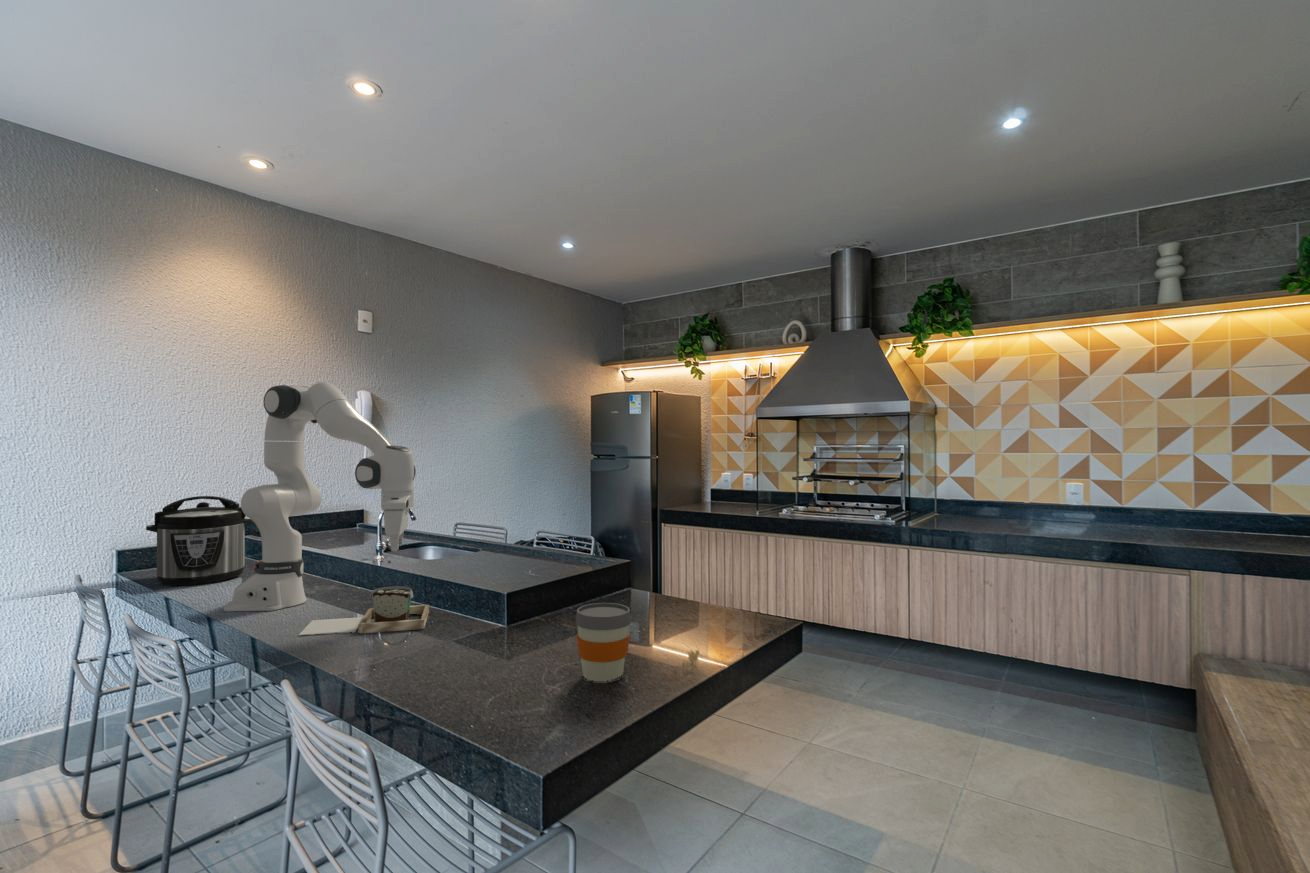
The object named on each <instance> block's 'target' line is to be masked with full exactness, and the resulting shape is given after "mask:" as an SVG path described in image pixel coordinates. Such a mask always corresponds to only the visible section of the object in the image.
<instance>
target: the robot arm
mask: <svg viewBox="0 0 1310 873" xmlns="http://www.w3.org/2000/svg"><path fill="white" fill-rule="evenodd" d="M263 407H264V410H265V412H266V413H267V414H268V415H267V420H266V423H265V424H266V425H265V427H264V429H265V431H264V441H263V444H264V446H263V464H264V466H265V467H266V469H267V470H269V471H271V472H273V473H274V475H275V476H276V479H277V483H276V484H275V483H273V484H263V485H259V486H255V487H251V488H248V489H246V490H245V492H244V493H243V494H242V496H241V500H240V507H241V509H242V511H243V513H244V514H245V515H246V517H247V518H248V519H251V520H253V521H254V523H255V525H256V527H257V528H258V531H259V533H260V537H261V538H260V539H261V558H262V559H260V560H259V561H258V562H257V563H256V564H254V565H253V570H254V572H255V573H254V574H252V575H251V576H249V577H248V578H247V579H245V580H244V581H243V582H241V583H240V584H239V585H237V586H236V588H235V589H234V592H233V593H232V594H233V595H232V599H231V601H229V602H227V603H225V604H224V605H223V609H222V611H224V612H257V611H258V612H264V611H266V612H267V611H268V612H270V611H271V612H272V611H276V610H281V609H285V608H290V607H295V606H299V605H302V604H304V603H305V602H307V597H306V593H305V590H304V589H305V588H304V583H303V575H304V565H305V564H304V558H303V556H302V553H303V552H302V551H303V536H302V534H301V532H299V531H298V530H296V529H295V528H293V527H292V526H291V524H290V521H289V517H296V516H303V515H306V514H309V513H312V512H314V511H316V510H317V509H319V507H320V506H321V504H322V501H323V500H322V499H323V496H322V492H321V490H320V489H319V487H318V486H317V485H315V484H314V483H313V481H312V480H311V479H310V478H309V476H308V473H307V470H306V467H305V450H304V449H305V447H304V446H305V445H304V444H305V442H304V440H305V438H304V434H305V432H304V430H305V425H306V424H307V423H309V422H311V423H312V424H317V423H318V425H319V427H320V428H321V429H322V430H323V431H324V432H325V433H326V434H327V435H328V436H330V437H332V438H335V439H338V440H343V441H348V442H352V443H356V444H359V445H362V446H364V447H366V448H367V449H369V451H371V452H372V454H373V455H371V456H368V457H364V458H362V459H360V460H359V462H358V463H357V465H356V467H355V469H354V470H355V471H354V477H355V480H356V483H357V484H358V485H359V486H360V487H361V488H363V489H368V490H376V489H379V490H380V489H381V490H380V491H381V492H380V500H381V501H380V508H381V510H382V511H383V521H384V533H385V536H386V537H387V538H389V540H390V551H391V552H397V551H399V547H401V546H403V540H404V533H405V532H404V531H405V530H406V529H407V528H408V525H409V523H408V521H409V520H408V513H409V512H410V508H412V507H414V504H415V500H414V499H415V498H414V497H415V496H414V495H415V492H414V484H413V481H414V479H415V478H416V473H417V472H416V471H417V470H416V466H415V463H414V455H413V452H412V450H411V449H409V447H405V446H402V445H394V444H393V443H392V442H391V441H390V439H388V438H387V436H386V435H385V434H384V433H383V432H382V431H381V430H380V429H379V428H378V427H377V426H376V425H375V424H373V423H372V422H371V421H369V420H368V419H367V418H366V417H364V416H363V415H362V414H361V413H360V412H359V411H358V410H357V408H355V407H354V405H352V403H351V401H350V400H349V398H347V396H346V395H345V394H344V393H343V392H342V391H341V390H340V389H339V388H338V387H336V385H334V384H333V383H331V382H329V381H328V382H327V381H321V382H317V383H314V384H312V385H311V386H307V385H286V384H281V385H273V386H271V387H269V388H268V390H266V392H265V393H264V397H263ZM254 523H253V524H254Z"/></svg>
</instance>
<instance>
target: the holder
mask: <svg viewBox="0 0 1310 873" xmlns="http://www.w3.org/2000/svg"><path fill="white" fill-rule="evenodd" d="M409 614H417V615H421V618H418V619H409V620H403V621H388V622H371V620H372V619H371V618H374V611H373V607H371V608H370V607H369V608H368V609H367V611H366V613H365V614H364V615H363V616H362V617H363V618H362V620H361V621H360V623H359V624H358V629H357V632H358V634H359V633H360V634H369V633H370V634H371V633H374V634H375V633H382V632H383V633H386V631H387V632H396V631H397V632H398V631H411V630H413V631H414V630H416V631H417V630H424V629H425V627H426V624H427V621H428V618H429V615H428V614H430V604H421V605H420V604H419V605H418V604H417V605H410V611H409ZM427 617H428V618H427Z"/></svg>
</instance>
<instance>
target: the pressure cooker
mask: <svg viewBox="0 0 1310 873" xmlns="http://www.w3.org/2000/svg"><path fill="white" fill-rule="evenodd" d="M195 500H196V501H197V500H214V501H216V500H217V501H219V502H220V503H221V505H222V507H220V506H210V502H204V501H203V502H199V503H197V504H196V506H195V507H191V508H190V507H189V508H183V509H179V508H180V507H181V506H183V504H184V502H189V501H195ZM246 517H247V516H246V515H245V514H244V513H243V511H242V509H241V506H240V502H239V503H238V502H236V501H235V500H232V499H229V498H225V497H222V496H221V497H220V496H214V495H201V496H192V497H190V496H189V497H185V498H182V499H179V500H176V501H173V502H171V503H169V504H166V505H165V506H163V508H162V510H161V511H157V512H155V513H154V524H150V525H146V526H145V531H149V532H153V533H156V577H157V579H158V581H159V582H160V583H161V584H164V585H168V586H170V585H171V586H173V585H174V586H189V585H191V586H192V585H199V584H208V583H209V584H210V583H214V582H220V581H225V580H230V579H233V578H236V577H239V576H240V575H242V573H243V572H244V570H245V562H246V561H245V558H246V557H245V556H246V552H245V551H246V550H245V548H246V545H245V544H246V542H245V541H246V539H245V538H246V536H245V535H246V532H245V531H246V524H254V521H253V520H251V519H250V518H246Z"/></svg>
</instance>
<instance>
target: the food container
mask: <svg viewBox="0 0 1310 873" xmlns="http://www.w3.org/2000/svg"><path fill="white" fill-rule="evenodd" d="M370 598H372V608H373V611H374V617H373V621H374V622H388V621H403V620H410V618H409V617H410V615H409V611H410V606H411V600H412V599H413V598H414V592H413V590H412V588H411V587H408V586H400V585H399V586H396V585H395V586H386V587H385V586H384V587H378V588H375V589H372V591H371V593H370Z"/></svg>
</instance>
